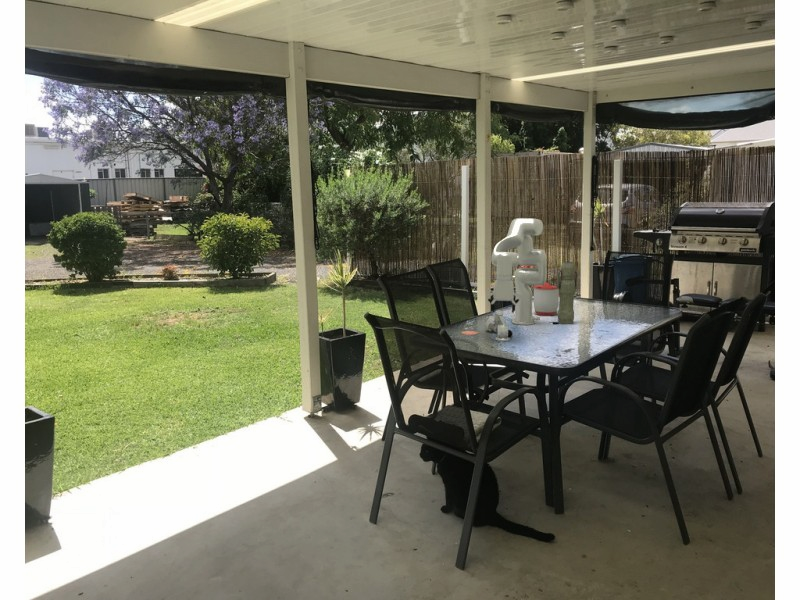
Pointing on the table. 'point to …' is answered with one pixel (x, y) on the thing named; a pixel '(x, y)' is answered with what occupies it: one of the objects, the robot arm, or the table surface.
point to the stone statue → (566, 292)
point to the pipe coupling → (503, 333)
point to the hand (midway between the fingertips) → (503, 312)
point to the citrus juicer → (546, 299)
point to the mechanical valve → (496, 322)
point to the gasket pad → (469, 332)
